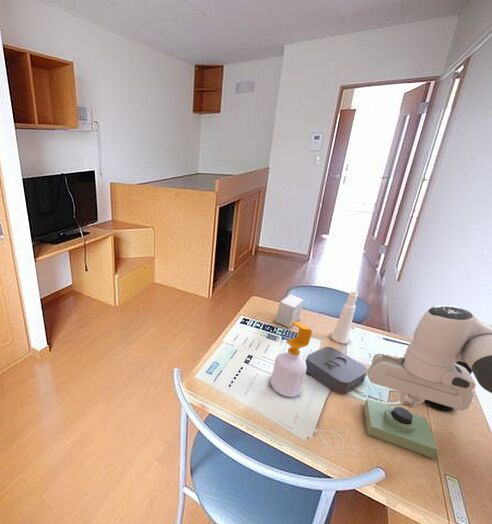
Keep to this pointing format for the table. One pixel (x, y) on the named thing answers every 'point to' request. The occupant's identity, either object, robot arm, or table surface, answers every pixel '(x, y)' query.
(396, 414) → the dark grey button
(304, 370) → the soap bottle
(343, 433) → the table surface
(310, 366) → the streaming box
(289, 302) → the cosmetics box
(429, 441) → the button block
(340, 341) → the cosmetic bottle
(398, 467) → the table surface
